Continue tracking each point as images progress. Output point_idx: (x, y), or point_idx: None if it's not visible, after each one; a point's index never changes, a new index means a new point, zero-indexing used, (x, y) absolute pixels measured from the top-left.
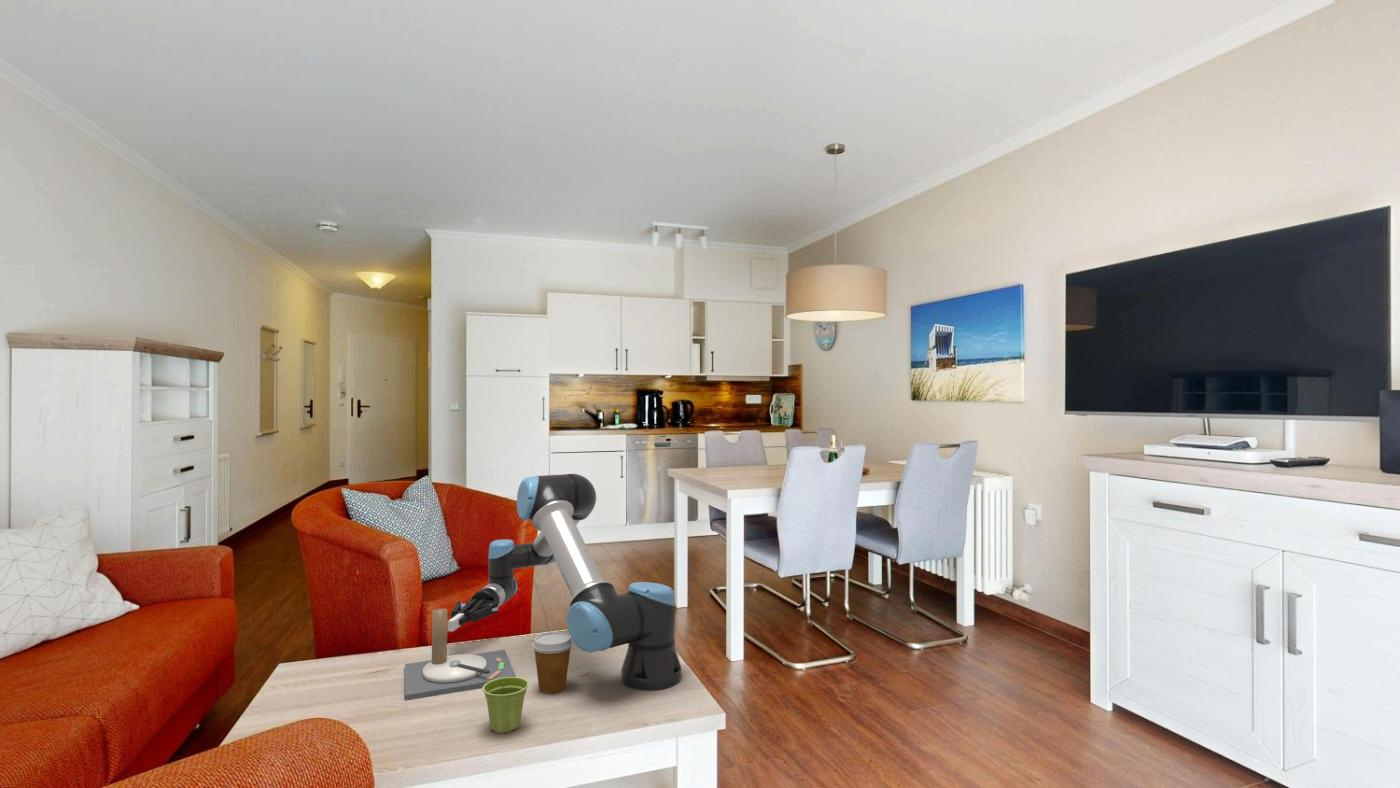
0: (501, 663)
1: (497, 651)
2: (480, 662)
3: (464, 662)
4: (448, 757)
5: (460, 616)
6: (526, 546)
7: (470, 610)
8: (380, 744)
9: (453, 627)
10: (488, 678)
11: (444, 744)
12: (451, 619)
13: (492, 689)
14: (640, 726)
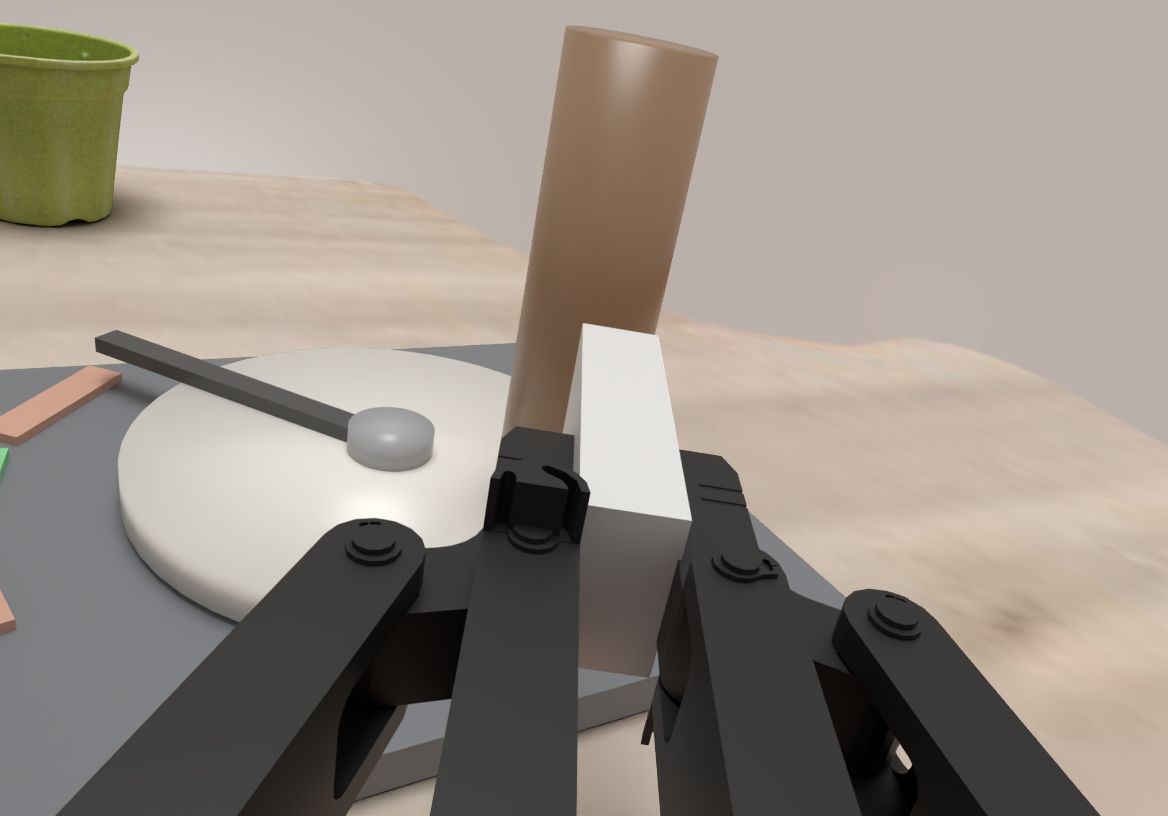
0: None
1: None
2: (174, 462)
3: (323, 475)
4: (245, 178)
5: (581, 431)
6: None
7: (542, 685)
8: (475, 232)
9: (568, 409)
10: (106, 369)
11: (271, 203)
12: (643, 360)
13: (94, 95)
14: None
